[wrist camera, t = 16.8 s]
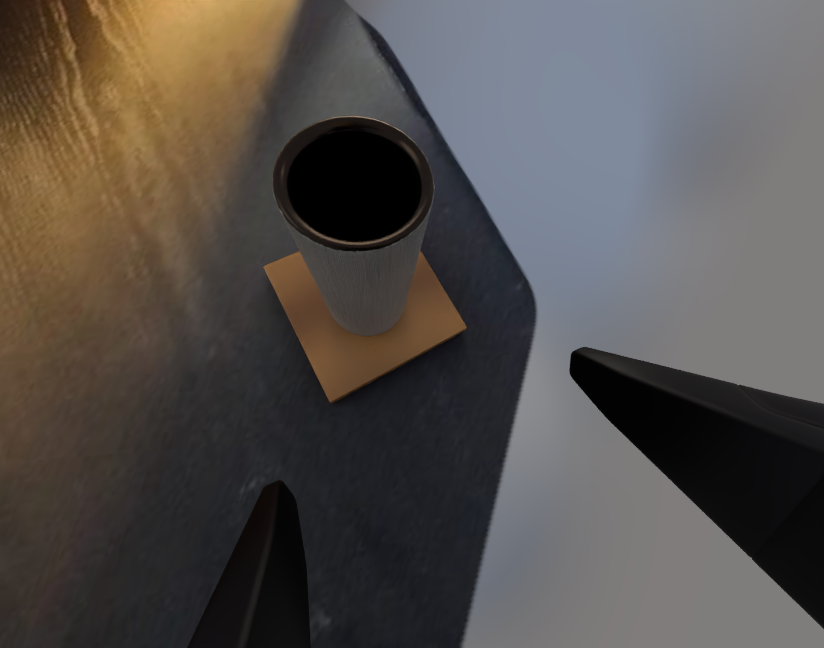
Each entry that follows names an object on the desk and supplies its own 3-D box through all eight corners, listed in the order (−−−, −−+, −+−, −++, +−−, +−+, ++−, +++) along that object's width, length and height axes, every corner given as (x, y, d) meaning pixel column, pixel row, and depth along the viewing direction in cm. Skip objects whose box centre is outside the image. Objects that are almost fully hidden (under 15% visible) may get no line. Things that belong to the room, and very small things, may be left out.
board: (462, 332, 20) (467, 327, 19) (332, 403, 18) (329, 403, 17) (395, 220, 22) (396, 209, 20) (269, 274, 20) (262, 266, 18)
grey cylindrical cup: (410, 331, 18) (449, 242, 9) (332, 341, 18) (275, 259, 8) (399, 261, 19) (421, 110, 10) (324, 268, 19) (266, 115, 9)
